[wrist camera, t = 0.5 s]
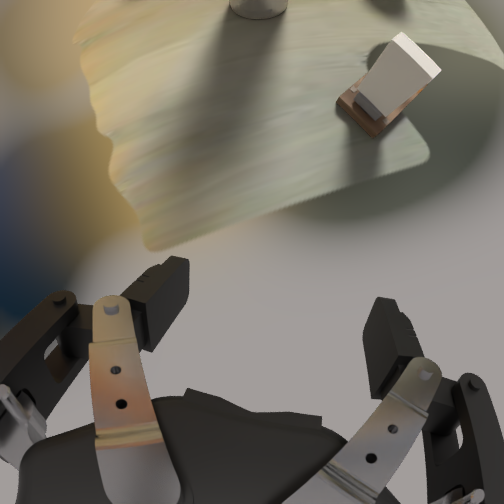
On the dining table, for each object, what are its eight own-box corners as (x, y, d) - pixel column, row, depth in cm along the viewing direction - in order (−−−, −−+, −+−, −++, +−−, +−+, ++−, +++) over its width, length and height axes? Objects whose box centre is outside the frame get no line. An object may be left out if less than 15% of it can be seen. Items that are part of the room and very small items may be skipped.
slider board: (372, 138, 33) (378, 134, 31) (335, 102, 33) (339, 96, 31) (422, 88, 32) (428, 84, 30) (389, 57, 31) (394, 50, 29)
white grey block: (377, 124, 31) (430, 81, 17) (350, 96, 31) (389, 41, 17) (390, 111, 30) (443, 68, 17) (363, 85, 30) (404, 30, 16)
